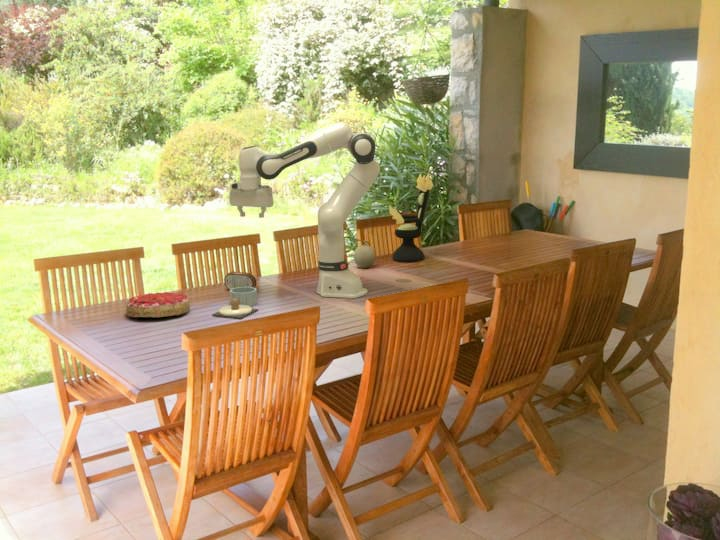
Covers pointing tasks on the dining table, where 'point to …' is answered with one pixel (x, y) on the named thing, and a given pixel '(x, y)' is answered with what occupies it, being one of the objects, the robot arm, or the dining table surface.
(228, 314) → the lid
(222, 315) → the mat
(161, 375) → the dining table surface
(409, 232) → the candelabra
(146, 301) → the cake
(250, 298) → the bowl
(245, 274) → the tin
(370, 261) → the fruit
